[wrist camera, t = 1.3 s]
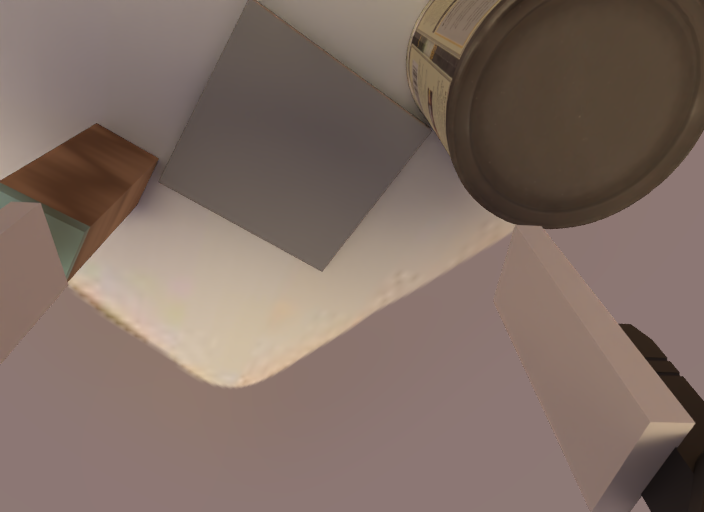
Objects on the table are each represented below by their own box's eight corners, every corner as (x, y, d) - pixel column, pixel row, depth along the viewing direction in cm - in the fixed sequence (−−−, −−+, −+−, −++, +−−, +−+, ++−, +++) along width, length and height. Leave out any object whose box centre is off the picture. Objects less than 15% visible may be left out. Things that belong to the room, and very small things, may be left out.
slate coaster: (162, 177, 33) (158, 182, 32) (251, -3, 27) (249, -3, 26) (322, 266, 37) (322, 271, 37) (429, 127, 32) (431, 130, 31)
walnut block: (76, 174, 33) (-29, 252, 24) (96, 123, 31) (-10, 186, 22) (136, 205, 34) (59, 291, 25) (159, 158, 32) (84, 232, 23)
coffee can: (594, 61, 29) (767, 118, 17) (465, 164, 33) (534, 270, 21) (509, -83, 25) (658, -138, 13) (372, 53, 29) (393, 105, 17)
